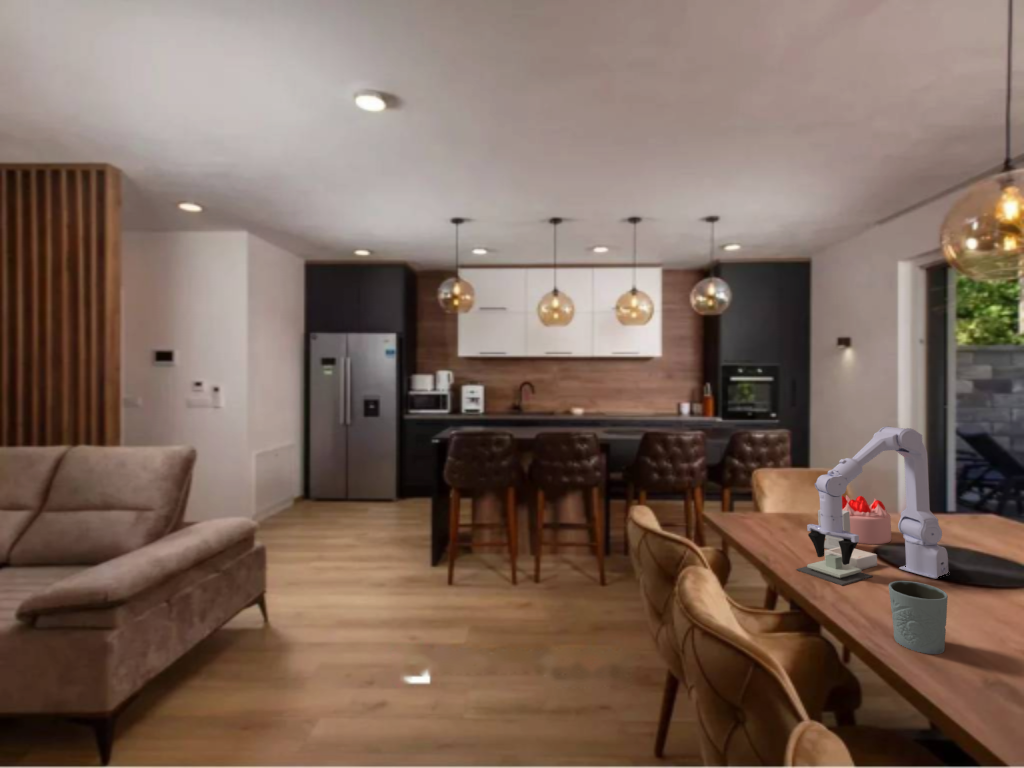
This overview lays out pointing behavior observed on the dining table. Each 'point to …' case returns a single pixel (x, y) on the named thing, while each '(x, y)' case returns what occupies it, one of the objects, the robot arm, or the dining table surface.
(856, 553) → the shallow white tray
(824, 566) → the lid
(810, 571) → the mat
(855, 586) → the dining table surface
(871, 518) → the cake
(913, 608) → the green embossed pot
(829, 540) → the small box
